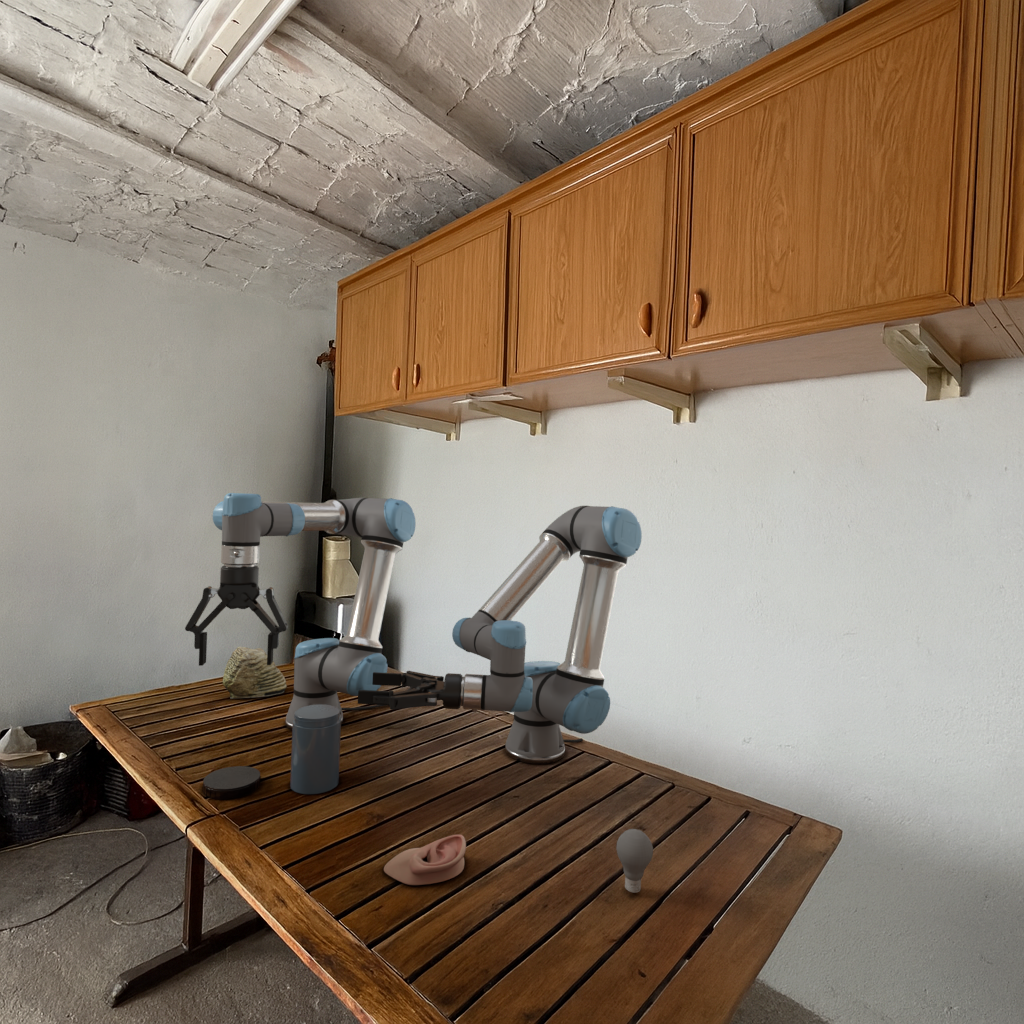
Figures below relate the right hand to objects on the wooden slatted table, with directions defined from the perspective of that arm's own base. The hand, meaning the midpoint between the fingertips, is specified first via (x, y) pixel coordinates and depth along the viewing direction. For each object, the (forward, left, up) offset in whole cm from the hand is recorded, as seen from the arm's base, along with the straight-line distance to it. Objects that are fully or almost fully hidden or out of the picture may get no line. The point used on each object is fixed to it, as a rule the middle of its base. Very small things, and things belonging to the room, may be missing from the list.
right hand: (365, 687), depth 139 cm
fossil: (+19, -73, -22) cm, 78 cm away
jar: (+9, -4, -22) cm, 24 cm away
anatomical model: (-4, +35, -22) cm, 41 cm away
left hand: (+26, -9, +5) cm, 28 cm away
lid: (+26, -8, -20) cm, 34 cm away
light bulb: (-34, +53, -22) cm, 67 cm away
